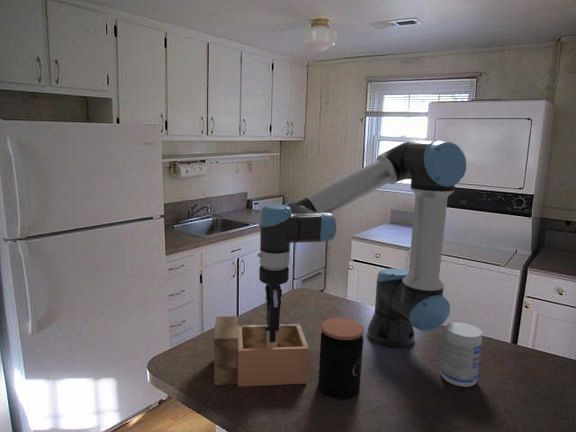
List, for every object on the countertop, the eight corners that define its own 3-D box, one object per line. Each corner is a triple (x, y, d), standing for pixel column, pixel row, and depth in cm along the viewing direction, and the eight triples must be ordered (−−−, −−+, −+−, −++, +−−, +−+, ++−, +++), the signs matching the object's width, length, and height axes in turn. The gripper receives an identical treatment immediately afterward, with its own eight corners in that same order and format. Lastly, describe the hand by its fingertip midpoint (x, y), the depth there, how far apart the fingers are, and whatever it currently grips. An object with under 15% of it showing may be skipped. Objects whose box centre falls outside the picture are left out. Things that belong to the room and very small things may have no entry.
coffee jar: (358, 406, 104) (363, 339, 101) (315, 400, 106) (318, 333, 103) (360, 382, 115) (364, 320, 111) (320, 376, 117) (324, 315, 113)
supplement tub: (478, 391, 113) (485, 340, 110) (440, 384, 115) (446, 334, 112) (474, 372, 122) (480, 324, 119) (439, 366, 124) (444, 319, 122)
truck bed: (298, 358, 126) (300, 314, 123) (305, 384, 113) (308, 335, 110) (215, 362, 122) (215, 316, 119) (213, 389, 110) (213, 338, 107)
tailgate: (306, 381, 112) (307, 346, 110) (306, 383, 111) (308, 348, 109) (237, 384, 110) (238, 348, 108) (237, 386, 109) (238, 350, 107)
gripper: (258, 258, 114) (256, 339, 119) (261, 274, 101) (258, 364, 106) (285, 258, 115) (282, 338, 120) (292, 274, 102) (288, 363, 107)
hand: (271, 350), depth 113 cm, fingers closed
